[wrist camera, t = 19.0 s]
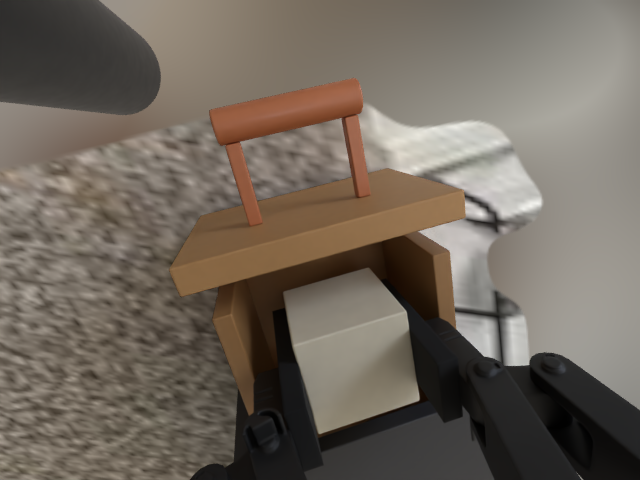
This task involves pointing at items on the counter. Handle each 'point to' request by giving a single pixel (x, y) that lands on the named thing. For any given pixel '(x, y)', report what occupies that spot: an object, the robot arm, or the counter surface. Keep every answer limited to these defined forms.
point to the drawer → (312, 232)
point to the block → (351, 348)
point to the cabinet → (394, 448)
